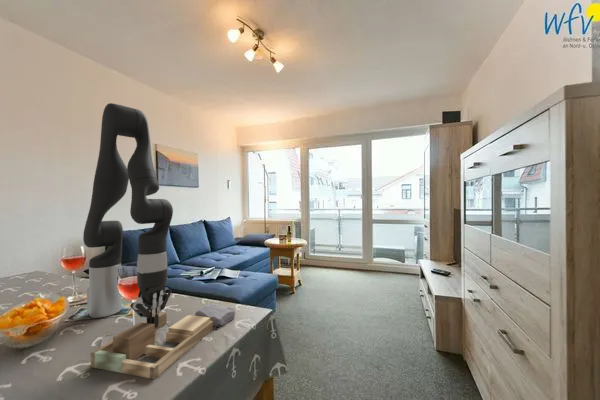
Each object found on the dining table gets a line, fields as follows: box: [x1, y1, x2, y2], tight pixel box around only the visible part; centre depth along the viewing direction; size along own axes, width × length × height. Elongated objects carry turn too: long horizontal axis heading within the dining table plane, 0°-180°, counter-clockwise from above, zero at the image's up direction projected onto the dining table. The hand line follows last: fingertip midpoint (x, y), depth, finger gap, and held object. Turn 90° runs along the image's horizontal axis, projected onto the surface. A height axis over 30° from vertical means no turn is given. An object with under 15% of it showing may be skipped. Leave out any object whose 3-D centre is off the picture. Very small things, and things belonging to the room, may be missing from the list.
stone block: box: [194, 303, 236, 328], centre depth 86 cm, size 12×5×10 cm
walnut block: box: [112, 322, 156, 361], centre depth 66 cm, size 5×8×6 cm, turn 168°
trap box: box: [90, 311, 214, 380], centre depth 70 cm, size 18×23×4 cm
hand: (152, 328), depth 72 cm, fingers closed
